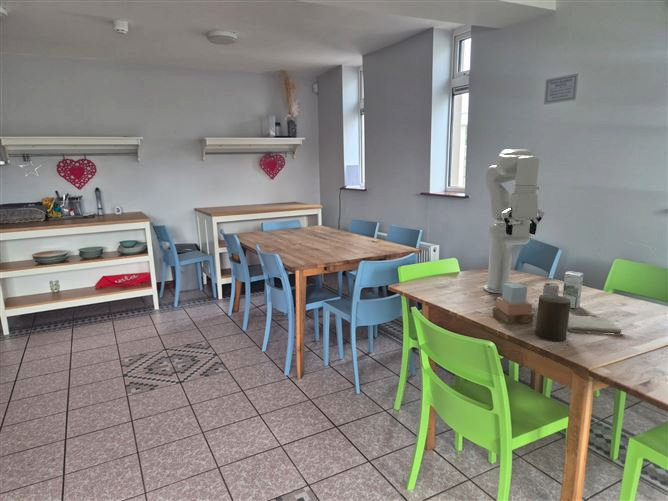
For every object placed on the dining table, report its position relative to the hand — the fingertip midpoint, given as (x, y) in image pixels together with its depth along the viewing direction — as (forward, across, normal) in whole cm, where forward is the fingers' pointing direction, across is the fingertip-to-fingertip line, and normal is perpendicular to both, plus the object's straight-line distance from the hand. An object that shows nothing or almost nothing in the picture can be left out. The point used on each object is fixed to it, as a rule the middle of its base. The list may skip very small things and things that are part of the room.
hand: (520, 234), depth 165 cm
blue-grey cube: (+24, +6, +9) cm, 26 cm away
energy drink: (+32, -12, +5) cm, 34 cm away
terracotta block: (+28, +6, +9) cm, 30 cm away
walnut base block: (+32, +6, +9) cm, 33 cm away
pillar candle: (+31, +2, +26) cm, 41 cm away
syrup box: (+32, -27, -2) cm, 42 cm away
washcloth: (+32, -18, +21) cm, 42 cm away
